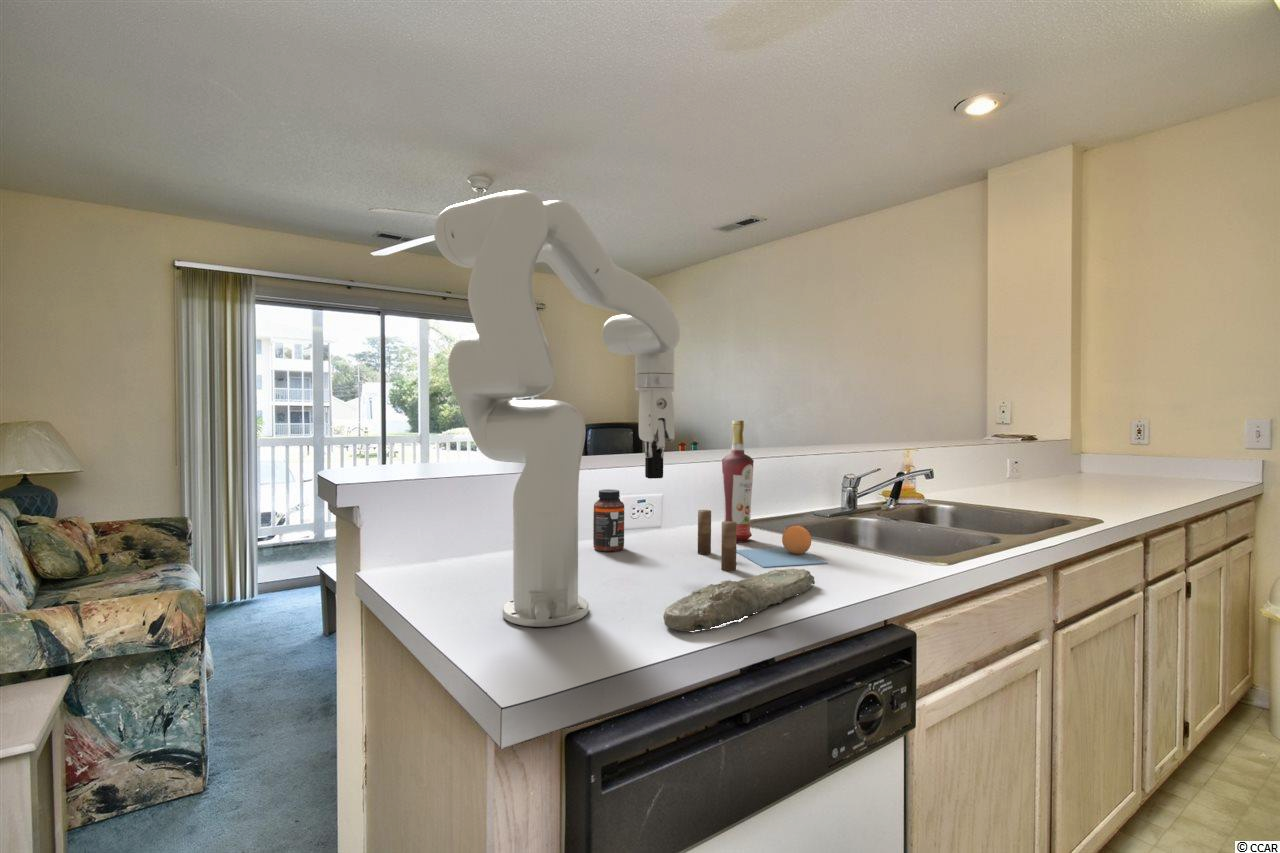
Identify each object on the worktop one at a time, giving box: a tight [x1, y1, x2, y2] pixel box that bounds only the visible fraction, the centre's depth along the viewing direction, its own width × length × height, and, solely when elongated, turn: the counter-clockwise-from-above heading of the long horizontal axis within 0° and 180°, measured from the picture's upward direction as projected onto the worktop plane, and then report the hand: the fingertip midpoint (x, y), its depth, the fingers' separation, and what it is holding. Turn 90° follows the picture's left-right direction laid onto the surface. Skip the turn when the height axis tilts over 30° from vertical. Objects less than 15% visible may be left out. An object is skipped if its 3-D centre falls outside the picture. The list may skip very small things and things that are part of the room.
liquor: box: [721, 420, 754, 543], centre depth 138 cm, size 7×7×28 cm
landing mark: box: [736, 546, 829, 568], centre depth 122 cm, size 14×14×1 cm
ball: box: [781, 525, 812, 554], centre depth 125 cm, size 6×6×6 cm
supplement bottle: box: [592, 488, 625, 553], centre depth 128 cm, size 7×7×13 cm
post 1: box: [697, 509, 712, 556], centre depth 125 cm, size 3×3×9 cm
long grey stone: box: [663, 568, 816, 632], centre depth 92 cm, size 35×5×10 cm
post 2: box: [720, 520, 737, 572], centre depth 112 cm, size 3×3×9 cm
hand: (654, 477), depth 115 cm, fingers closed
